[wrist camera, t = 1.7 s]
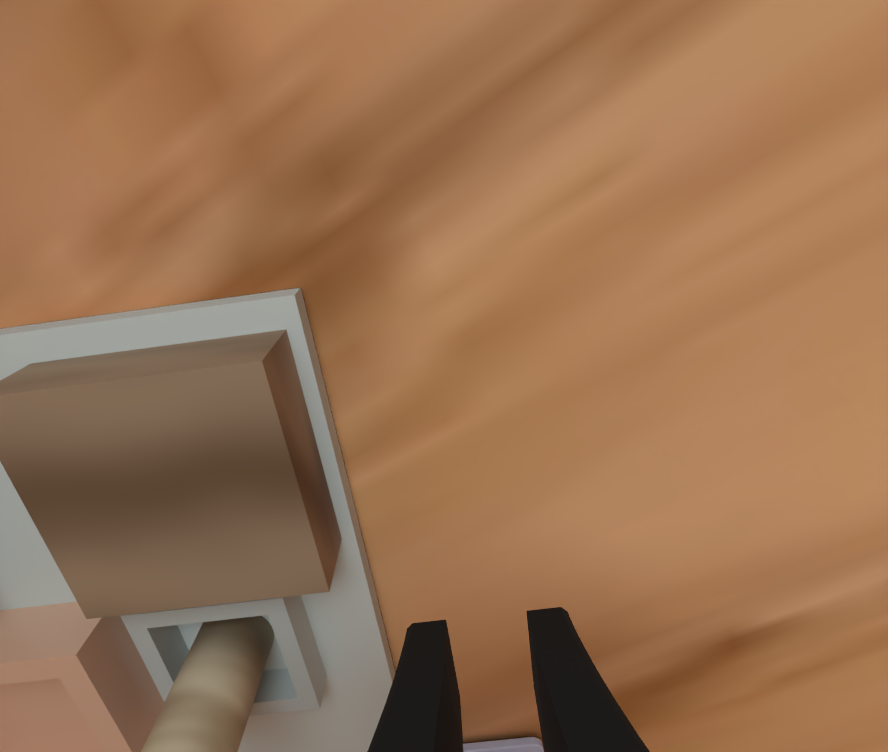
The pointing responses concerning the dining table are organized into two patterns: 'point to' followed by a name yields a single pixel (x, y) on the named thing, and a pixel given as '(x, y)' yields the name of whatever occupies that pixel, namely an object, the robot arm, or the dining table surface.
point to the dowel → (214, 688)
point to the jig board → (292, 618)
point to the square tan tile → (173, 474)
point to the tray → (72, 683)
